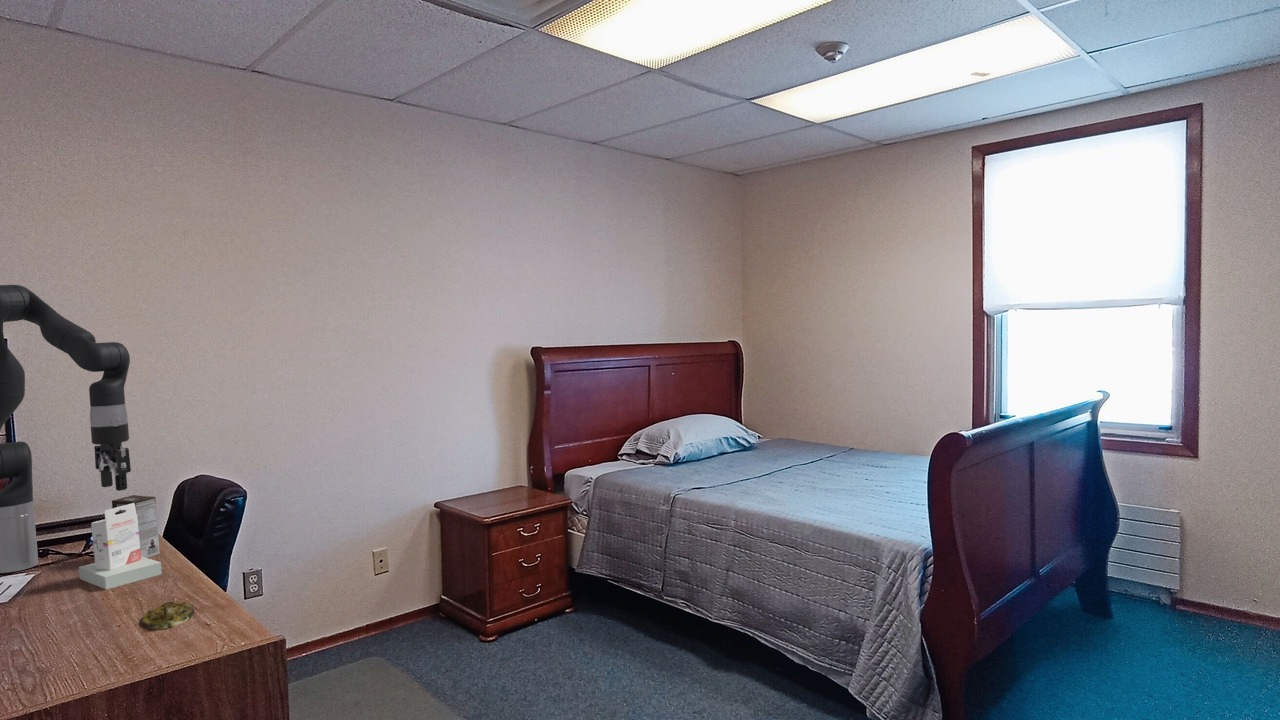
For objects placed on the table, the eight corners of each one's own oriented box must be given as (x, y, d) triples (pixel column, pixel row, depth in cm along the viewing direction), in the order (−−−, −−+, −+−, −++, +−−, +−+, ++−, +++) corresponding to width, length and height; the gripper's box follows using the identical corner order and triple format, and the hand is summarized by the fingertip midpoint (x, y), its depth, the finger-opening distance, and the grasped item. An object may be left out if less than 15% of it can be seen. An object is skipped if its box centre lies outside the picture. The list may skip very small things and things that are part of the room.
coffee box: (114, 559, 200) (109, 500, 200) (137, 551, 206) (132, 494, 206) (139, 561, 197) (134, 501, 196) (161, 553, 203) (157, 495, 203)
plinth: (79, 578, 184) (78, 567, 184) (134, 564, 194) (133, 553, 194) (106, 589, 175) (105, 577, 175) (161, 574, 185) (160, 562, 185)
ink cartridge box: (126, 558, 189) (122, 501, 189) (141, 559, 188) (137, 502, 187) (93, 569, 181) (89, 510, 180) (109, 570, 180) (104, 510, 179)
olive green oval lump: (141, 619, 159) (146, 640, 147) (136, 598, 158) (141, 617, 146) (190, 603, 164) (199, 621, 152) (186, 582, 164) (195, 600, 152)
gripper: (79, 424, 184) (85, 488, 184) (103, 426, 176) (108, 494, 176) (114, 420, 190) (119, 482, 191) (139, 422, 182) (144, 488, 183)
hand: (114, 488), depth 184 cm, fingers open, 8 cm apart
